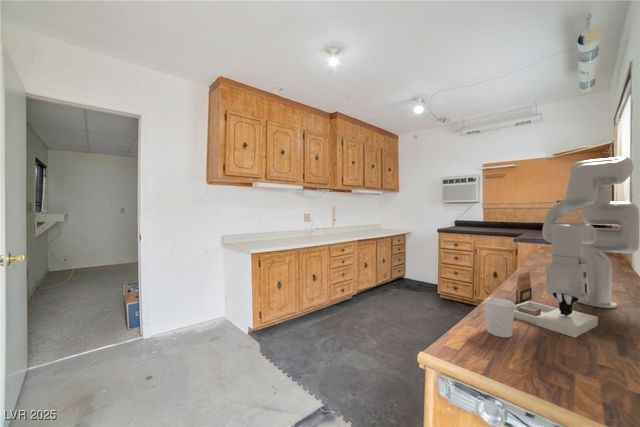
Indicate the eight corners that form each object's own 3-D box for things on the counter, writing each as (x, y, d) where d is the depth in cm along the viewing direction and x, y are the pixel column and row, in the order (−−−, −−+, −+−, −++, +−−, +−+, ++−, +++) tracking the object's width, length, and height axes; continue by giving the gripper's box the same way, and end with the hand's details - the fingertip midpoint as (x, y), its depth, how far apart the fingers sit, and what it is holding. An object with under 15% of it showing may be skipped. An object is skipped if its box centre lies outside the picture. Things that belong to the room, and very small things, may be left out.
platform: (560, 315, 100) (560, 307, 100) (597, 325, 91) (597, 316, 91) (536, 325, 91) (536, 316, 91) (575, 337, 83) (575, 327, 83)
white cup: (509, 329, 88) (509, 299, 88) (518, 340, 81) (518, 307, 81) (482, 326, 91) (482, 296, 91) (488, 336, 84) (488, 304, 83)
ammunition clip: (520, 303, 113) (521, 275, 113) (515, 302, 115) (516, 274, 114) (531, 299, 119) (532, 271, 118) (526, 297, 120) (527, 271, 120)
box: (528, 307, 109) (528, 300, 109) (559, 315, 100) (559, 308, 100) (505, 315, 101) (505, 308, 100) (536, 324, 92) (536, 317, 92)
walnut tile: (540, 309, 100) (540, 314, 100) (525, 304, 104) (525, 310, 104) (534, 311, 97) (534, 316, 97) (518, 307, 102) (518, 312, 102)
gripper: (601, 263, 87) (600, 320, 87) (545, 256, 100) (544, 305, 100) (591, 265, 83) (590, 324, 83) (534, 258, 96) (534, 309, 97)
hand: (565, 314), depth 92 cm, fingers closed
